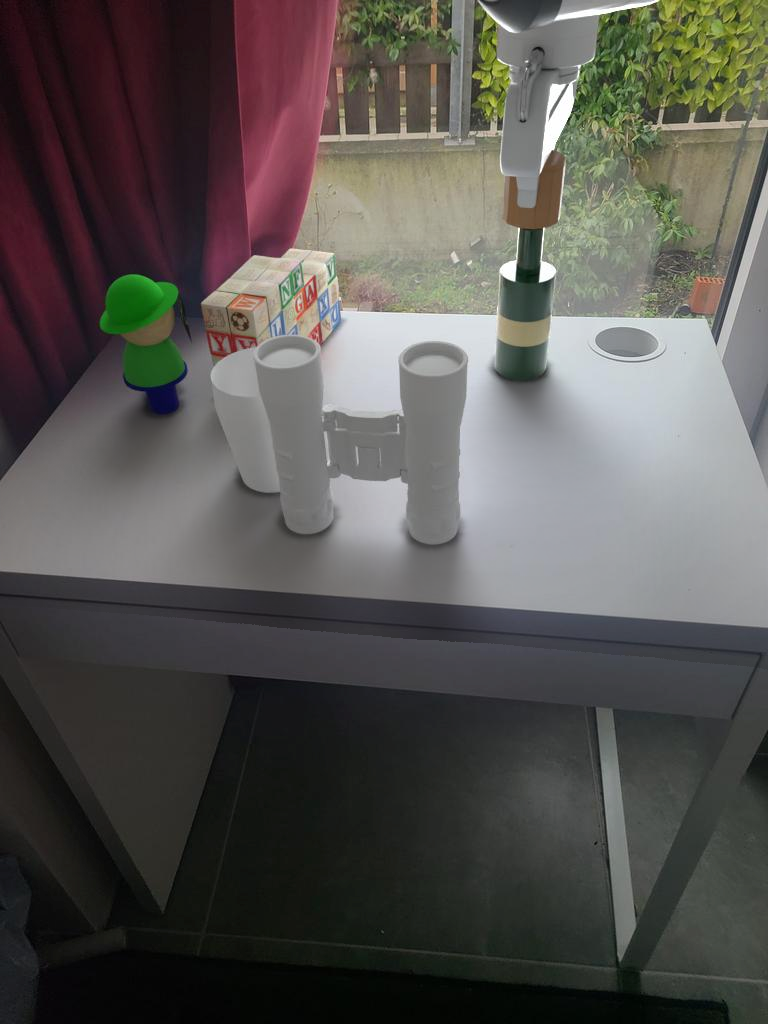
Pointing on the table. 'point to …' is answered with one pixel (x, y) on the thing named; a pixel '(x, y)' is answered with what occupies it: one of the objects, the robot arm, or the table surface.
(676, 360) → the table surface
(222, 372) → the cup
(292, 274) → the stack of blocks
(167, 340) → the toy
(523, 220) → the brown cylinder
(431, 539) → the binoculars
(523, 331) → the bottle
